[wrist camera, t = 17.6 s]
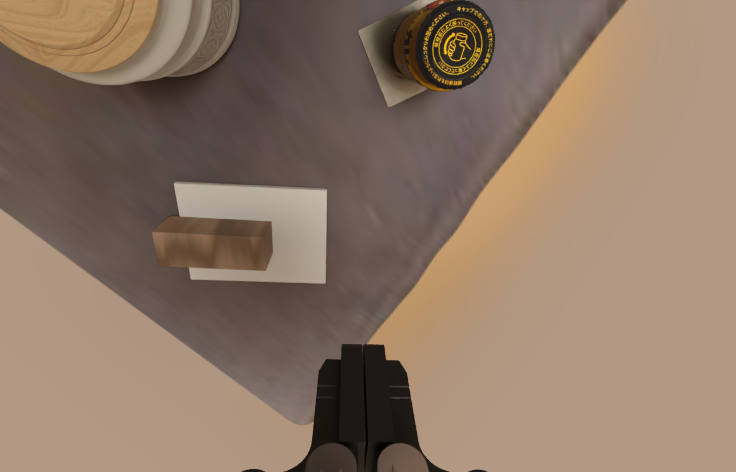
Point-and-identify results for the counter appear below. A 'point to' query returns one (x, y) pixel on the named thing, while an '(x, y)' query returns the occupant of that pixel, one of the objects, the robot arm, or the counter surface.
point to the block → (213, 243)
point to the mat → (289, 226)
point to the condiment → (429, 47)
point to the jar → (120, 36)
